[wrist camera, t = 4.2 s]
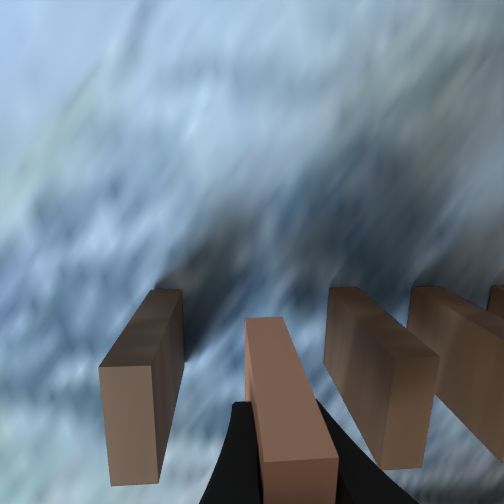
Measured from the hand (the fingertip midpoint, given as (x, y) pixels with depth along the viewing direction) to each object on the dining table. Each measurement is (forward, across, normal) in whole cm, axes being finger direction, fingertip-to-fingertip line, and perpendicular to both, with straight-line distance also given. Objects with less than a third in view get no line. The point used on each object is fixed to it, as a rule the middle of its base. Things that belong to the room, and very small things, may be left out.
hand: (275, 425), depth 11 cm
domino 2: (+7, -5, 0) cm, 9 cm away
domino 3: (+7, -10, 0) cm, 12 cm away
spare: (+3, 0, 0) cm, 3 cm away
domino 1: (+7, +5, 0) cm, 9 cm away
